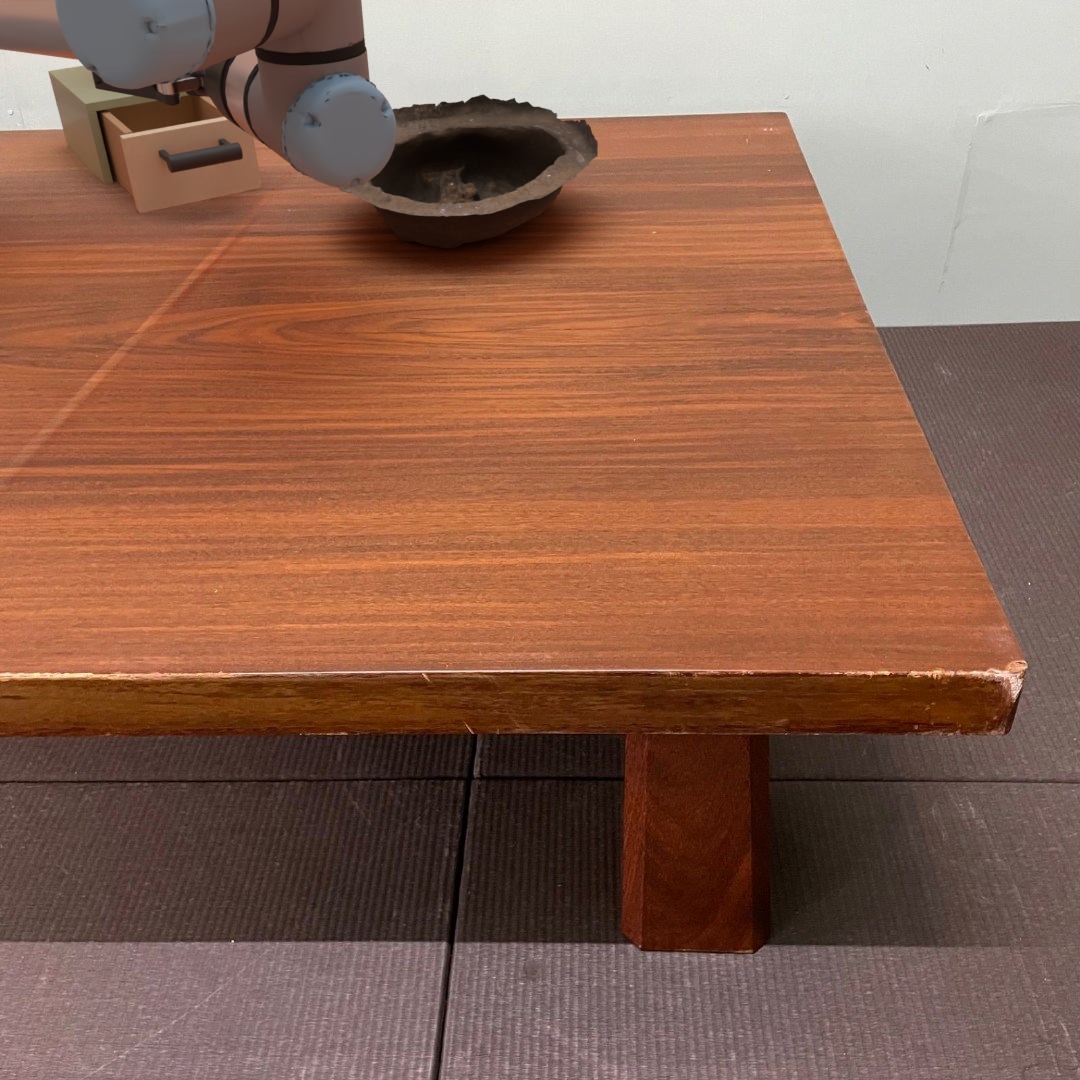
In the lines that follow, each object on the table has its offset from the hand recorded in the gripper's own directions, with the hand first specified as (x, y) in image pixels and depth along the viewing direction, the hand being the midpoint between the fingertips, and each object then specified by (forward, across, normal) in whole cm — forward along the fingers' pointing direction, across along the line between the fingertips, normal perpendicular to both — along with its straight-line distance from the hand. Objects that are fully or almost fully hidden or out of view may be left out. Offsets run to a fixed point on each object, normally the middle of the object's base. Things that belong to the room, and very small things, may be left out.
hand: (182, 36), depth 104 cm
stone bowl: (-14, +21, -18) cm, 30 cm away
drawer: (+9, 0, -17) cm, 19 cm away
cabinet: (+23, 0, -18) cm, 29 cm away
